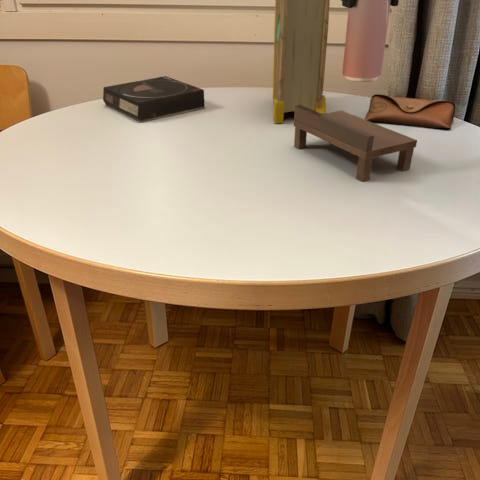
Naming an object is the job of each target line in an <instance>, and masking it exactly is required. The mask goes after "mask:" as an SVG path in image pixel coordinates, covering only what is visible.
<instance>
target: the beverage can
mask: <svg viewBox="0 0 480 480" xmlns="http://www.w3.org/2000/svg"><path fill="white" fill-rule="evenodd" d="M391 7H392V6H391V0H355V1H354V7H352V8H347V9H348V11H347V21H346V31H345V39H344V40H345V42H344V50H343V51H344V52H343V60H342V62H343V63H342V73H341V74H342V76H343V78H344V79H345V80H346V81H350V82H355V83H370V82H375V81H377V80H379V78H380V77H381V75H382V70H383V64H384V56H385V51H386V50H385V49H386V42H387V36H388V27H389V20H390V15H391V14H390V12H391Z"/></svg>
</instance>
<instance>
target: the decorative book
mask: <svg viewBox="0 0 480 480" xmlns="http://www.w3.org/2000/svg"><path fill="white" fill-rule="evenodd" d="M274 1H275V3H274V28H273V70H272V71H273V72H272V101H273V113H272V115H273V116H272V117H273V123H274V124H283V123H284V116H285V115H284V114H285V113H289V112H295V106H297V105H302V106H304V107H306V108H309V109H311V110H314V111H316V112H318V113H321V114H325V113H327V101H326V96H325V95H324V86H325V85H324V84H325V72H326V71H325V70H326V59H327V49H328V35H329V22H330V21H329V20H330V3H331V0H274Z"/></svg>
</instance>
